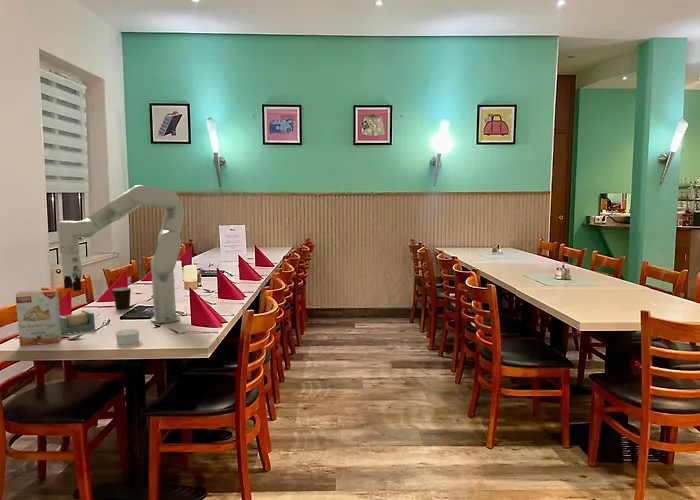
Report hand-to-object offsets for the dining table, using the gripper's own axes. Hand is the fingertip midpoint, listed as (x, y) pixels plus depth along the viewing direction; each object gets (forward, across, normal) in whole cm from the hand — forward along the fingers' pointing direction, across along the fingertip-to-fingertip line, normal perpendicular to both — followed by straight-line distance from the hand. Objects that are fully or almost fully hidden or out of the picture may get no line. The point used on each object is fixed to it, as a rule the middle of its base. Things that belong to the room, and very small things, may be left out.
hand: (73, 289), depth 237 cm
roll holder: (+18, 0, 0) cm, 18 cm away
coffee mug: (+18, +27, -34) cm, 47 cm away
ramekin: (+18, -37, -6) cm, 42 cm away
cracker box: (+18, -10, +17) cm, 27 cm away
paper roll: (+17, 0, 0) cm, 17 cm away
